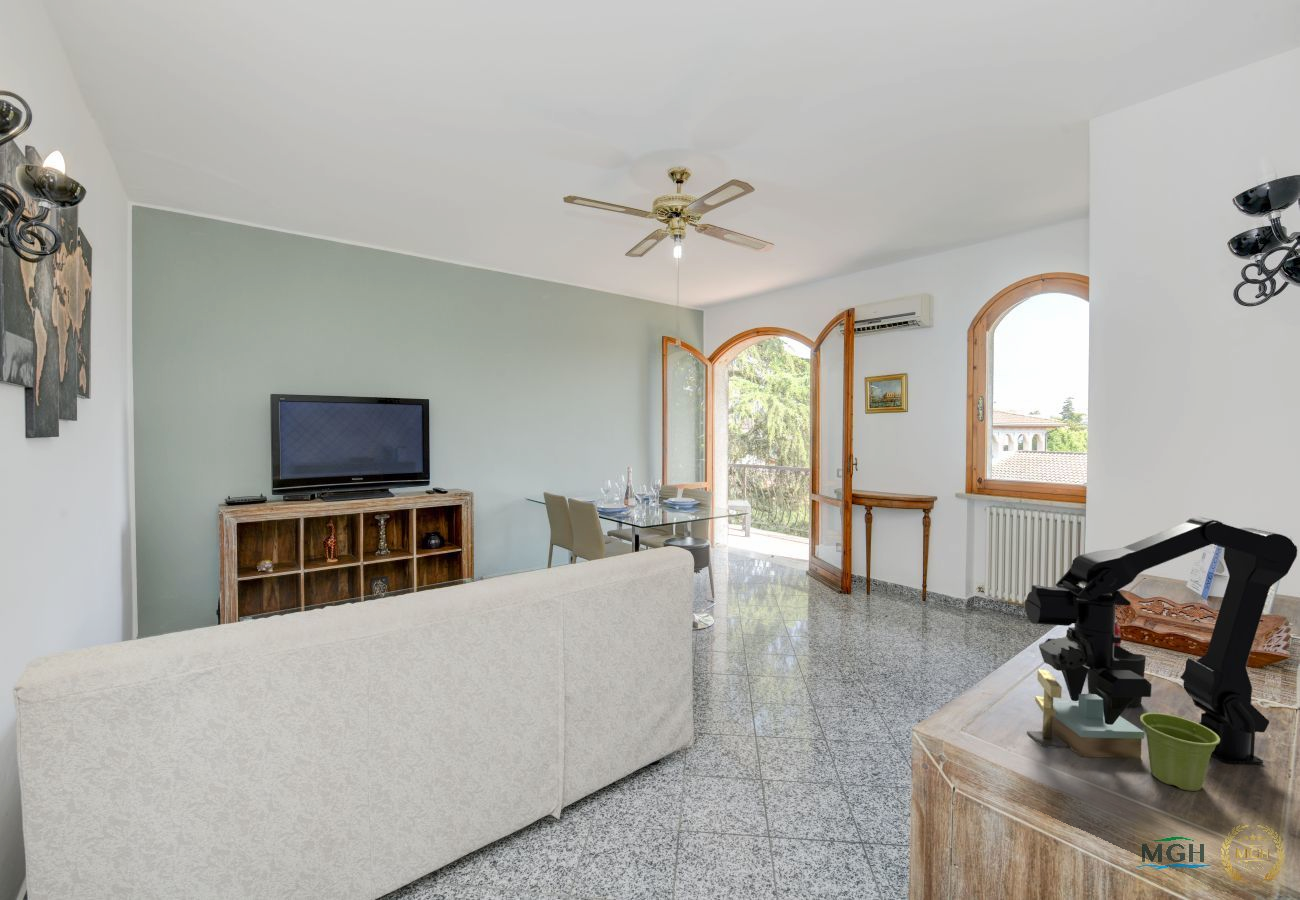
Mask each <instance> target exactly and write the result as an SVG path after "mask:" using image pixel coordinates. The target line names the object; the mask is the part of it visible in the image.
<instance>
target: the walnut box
mask: <svg viewBox="0 0 1300 900" xmlns="http://www.w3.org/2000/svg"><path fill="white" fill-rule="evenodd" d="M1027 733H1028V734H1027ZM1026 734H1027V735H1028V736H1030V737H1031V738H1032V739H1033V740H1034V741H1036V743H1037V744H1038V745H1040V746H1041V747H1043V748H1044V747H1045V748H1047V747H1048V748H1050V747H1051V748H1070V747H1071V748H1072V749H1073V750H1072V749H1071V748H1070V749H1071V750H1072V751H1074V752H1075V751H1076V752H1077V753H1078V754H1079V756H1080V757H1081V756H1084V757H1083V758H1085V757H1088V758H1091V757H1092V758H1123V759H1124V758H1127V759H1128V758H1130V759H1131V758H1132V759H1133V758H1134V759H1141V758H1142V741H1143V740H1142V739H1134V738H1090V737H1080V736H1079V735H1078V734H1076V733H1075V732H1074V731H1072V730H1071V729H1070V728H1069V727H1067V726H1066V725H1065V724H1063V723H1062V722H1061V721H1059V720H1058V719H1057V718H1056V717H1054V716H1053V721H1052V739H1051V740H1049V739H1045V738H1043V730H1042V731H1040V730H1039V731H1035V730H1033V731H1032V730H1030V731H1029V730H1026ZM1069 746H1070V747H1069ZM1076 752H1075V753H1076ZM1077 753H1076V754H1077ZM1078 754H1077V755H1078Z"/></svg>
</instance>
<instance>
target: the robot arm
mask: <svg viewBox="0 0 1300 900" xmlns="http://www.w3.org/2000/svg"><path fill="white" fill-rule="evenodd" d="M1211 545H1214V546H1218V547H1220V548H1224V552H1223V561H1224V563H1225V566H1226V569H1227V572H1228V575H1229V576H1228V581H1227V584H1226V586H1225V591H1224V594H1223V597H1222V601H1221V605H1220V608H1219V611H1218V614H1217V617H1216V621H1215V624H1214V628H1213V632H1212V634H1211V638H1210V641H1209V645H1208V648H1207V652H1206V653H1205V654H1204V655H1202V656H1201V657H1200V658H1198V659H1197V660H1195V659H1192V658H1191V657H1188V658H1187V659H1186V662H1185V667H1184V668H1185V669H1184V672H1183V673H1182V674H1181V676H1180V680H1183V684H1182V686H1183V689H1184V690H1185V692H1186V694H1188V696H1189V697H1191V699H1192V701H1193V704H1194V706H1195V707H1197V708H1199V709H1201V710H1202V711H1204V713H1203V712H1201V714H1200V715H1201V716H1200V722H1199V723H1198V724H1200V725H1203V726H1205V727H1207V728H1208V729H1210V730H1212V731H1213V732H1215V733H1216V734H1217V735H1218V736H1219V738H1220V743H1219V744H1217V745H1216V746H1215V749H1214V751H1213V752H1212V753H1211V756H1212V757H1214V758H1216V759H1218V760H1219V761H1221V762H1223V763H1226V764H1247V765H1249V764H1250V765H1251V764H1253V765H1255V764H1256V765H1263V764H1264V760H1263V759H1262V758H1260V757H1258V756H1256V755H1255V744H1256V743H1255V740H1256V733H1265V732H1266V729H1267V728H1268V726H1269V724H1270V721H1269V719H1267V717H1266V716H1264V714H1263V713H1261V712H1260V711H1259V710H1258V709H1257V708H1256V707H1255V706H1253V704H1252V697H1253V696H1252V695H1253V686H1252V683H1251V679H1250V677H1249V676H1250V675H1249V673H1248V670H1247V665H1248V662H1249V657H1250V654H1251V651H1252V648H1253V644H1254V641H1255V638H1256V635H1257V632H1258V628H1259V625H1260V621H1261V618H1262V615H1263V612H1264V608H1265V605H1266V602H1267V598H1268V595H1269V592H1270V589H1271V587H1273V585H1274V584H1276V583H1277V582H1279V581H1280V580H1281V579H1283V578H1284V577H1285V576H1286V575H1288V573H1289V571H1290V570H1291V568H1292V567H1293V564H1294V562H1295V560H1296V559H1297V556H1298V546H1297V545H1296V544H1295V543H1294V542H1293V540H1292V539H1290V538H1289V537H1288V536H1286V535H1283V534H1279V533H1276V532H1271V531H1266V530H1261V529H1256V528H1252V527H1240V528H1238V527H1235V526H1231V525H1229V524H1227V523H1223V522H1222V521H1219V520H1216V519H1210V518H1206V517H1202V516H1201V517H1200V516H1196V517H1192V518H1189V519H1188V520H1186V521H1185V522H1183V523H1180V524H1178V525H1175V526H1173V527H1170V528H1168V529H1166V530H1163V531H1160V532H1158V533H1155V534H1153V535H1151V536H1148V537H1145V538H1144V539H1140V540H1138V541H1136V542H1134V543H1131V544H1128V545H1125V546H1123V547H1119V548H1115V549H1114V548H1113V549H1104V550H1096V551H1092V552H1087V553H1084V554H1080V555H1078V556H1076V557H1074V559H1073V560H1072V564H1071V565H1070V568H1069V569H1068V570H1067V571H1066V572H1065V573H1064V575H1063V576H1061V578H1060V579H1059V580H1058V581H1057V582H1056V584H1055V586H1044V585H1039V584H1038V585H1037V584H1035V585H1034V584H1033V585H1031V591H1030V592H1028V594H1027V596H1026V599H1024V608H1025V613H1026V616H1027V619H1028V621H1029V622H1030V623H1031V624H1033V625H1045V626H1046V625H1048V626H1062V627H1063V626H1064V627H1066V626H1067V627H1068V629H1066V636H1063V637H1058V638H1047V639H1046V640H1045V641H1044V642H1042V643H1039V644H1038V648H1039V651H1040V654H1041V657H1042V659H1043V662H1044V663H1045V664H1047V665H1049V666H1051V668H1053V669H1054V670H1055V671H1058V672H1059V671H1060V672H1061V674H1062V676H1063V678H1064V682H1065V685H1066V688H1067V691H1068V694H1069V697H1070V700H1071V702H1079V694H1083V693H1082V692H1083V688H1084V685H1085V682H1086V678H1087V677H1088V669H1090V670H1092V671H1094V672H1095V673H1097V674H1099V675H1098V683H1099V685H1100V686H1095V687H1096V688H1097V689H1098V691H1099V692H1100V693H1101V694H1102V695H1103V708H1104V719H1105V723H1106V724H1107V725H1113V724H1114V722H1115V721H1116V720H1117V719H1118V717H1119V716H1121V715H1122V714H1123V713H1124V711H1125V710H1126V708H1128V707H1127V706H1128V705H1129V704H1130V703H1131V702H1132V701H1133V700H1134V699H1135V698H1136V697H1142V698H1151V696H1152V688H1153V687H1152V686H1153V684H1152V683H1151V682H1150V681H1149V680H1148V679H1146V678H1145V677H1144V678H1143V677H1141V676H1139V675H1138V674H1136V673H1134V672H1132V671H1130V670H1112V669H1111V668H1112V666H1120V660H1118V659H1116V658H1114V643H1120V644H1122V636H1121V637H1119V636H1117V635H1115V619H1116V608H1117V607H1116V606H1127V607H1129V606H1131V604H1132V603H1131V601H1130V600H1128V599H1127V598H1126V597H1125V596H1124V595H1122V593H1121V591H1120V590H1121V589H1123V588H1125V587H1126V586H1128V585H1130V584H1131V583H1133V581H1134V580H1135V579H1136V578H1137V577H1138V576H1139V574H1141V573H1143V572H1144V571H1146V570H1149V569H1151V568H1153V567H1156V566H1159V565H1162V564H1164V563H1167V562H1170V561H1172V560H1175V559H1177V558H1180V557H1182V556H1184V555H1187V554H1189V553H1193V552H1195V551H1198V550H1200V549H1202V548H1205V547H1208V546H1211ZM1080 584H1081V585H1083V586H1084V587H1082V586H1080ZM1073 624H1074V626H1072V625H1073ZM1069 626H1072V627H1069Z"/></svg>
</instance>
